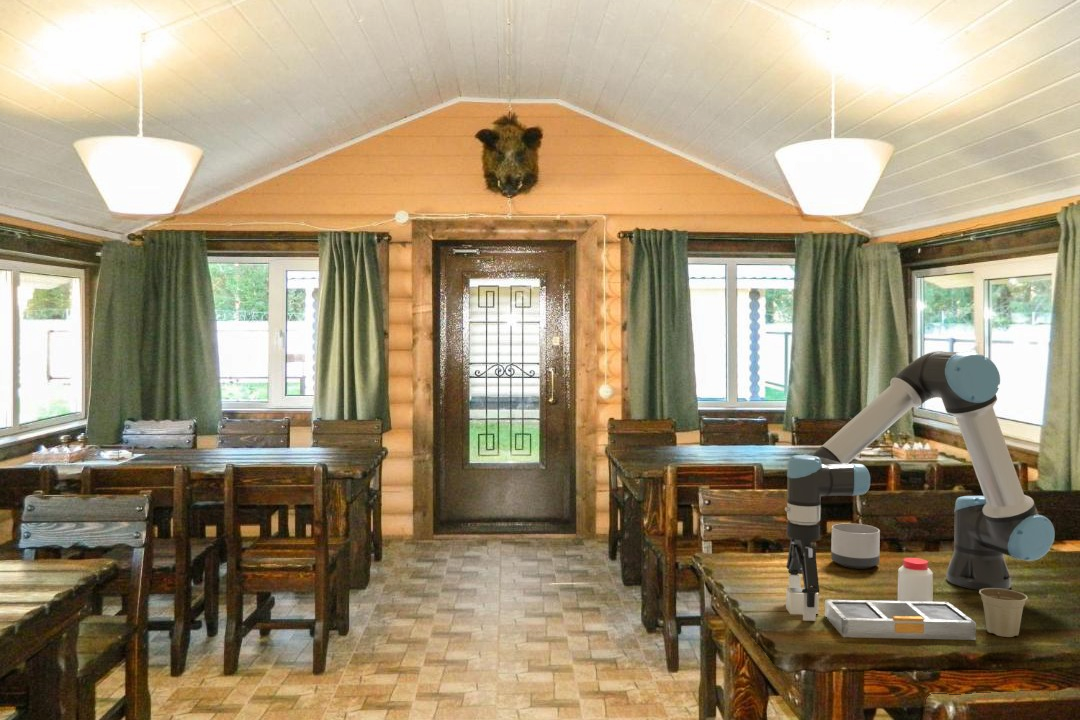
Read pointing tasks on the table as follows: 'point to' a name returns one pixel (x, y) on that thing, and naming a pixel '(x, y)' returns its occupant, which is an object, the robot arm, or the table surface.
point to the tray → (899, 619)
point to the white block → (797, 601)
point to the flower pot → (1003, 610)
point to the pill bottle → (915, 581)
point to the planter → (855, 545)
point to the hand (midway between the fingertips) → (801, 610)
